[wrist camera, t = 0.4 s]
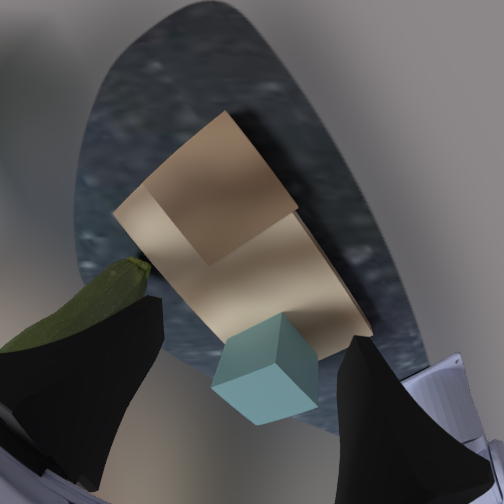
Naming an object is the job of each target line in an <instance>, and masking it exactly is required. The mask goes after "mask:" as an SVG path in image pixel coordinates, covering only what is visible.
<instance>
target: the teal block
mask: <svg viewBox="0 0 504 504" xmlns="http://www.w3.org/2000/svg"><path fill="white" fill-rule="evenodd" d="M211 388H212V389H213V390H214V391H215V392H216V393H217V394H219V395H220V396H221V397H222V398H223V399H225V400H226V401H227V402H228V403H229V404H230V405H232V406H233V407H234V408H235V409H236V410H238V411H239V412H240V413H241V414H243V415H244V416H245V417H246V418H248V419H249V420H250V421H251V422H253V423H254V424H255V425H261V424H265V423H269V422H272V421H276V420H279V419H283V418H286V417H289V416H293V415H296V414H299V413H302V412H305V411H308V410H311V409H314V408H317V407H318V355H317V354H316V353H315V352H314V350H313V349H312V348H311V347H310V346H309V344H308V343H307V342H306V341H305V339H304V338H303V337H302V336H301V335H300V333H299V332H298V331H297V330H296V329H295V327H294V326H293V325H292V324H291V322H290V321H289V320H288V319H287V318H286V316H285V315H284V314H283V313H282V312H281V313H279V314H277V315H275V316H273V317H271V318H269V319H267V320H265V321H263V322H261V323H259V324H257V325H255V326H253V327H251V328H249V329H247V330H245V331H243V332H241V333H239V334H237V335H234V336H232V337H230V338H228V339H227V341H226V344H225V347H224V350H223V353H222V356H221V359H220V361H219V364H218V367H217V370H216V373H215V376H214V379H213V382H212V385H211Z"/></svg>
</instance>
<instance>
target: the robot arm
mask: <svg viewBox="0 0 504 504" xmlns="http://www.w3.org/2000/svg"><path fill="white" fill-rule="evenodd" d="M164 339H165V338H164V325H163V309H162V299H161V298H157V297H153V296H149V295H147V296H145V297H143V298H141V299H139V300H138V301H136V302H134V303H132V304H131V305H129V306H127V307H126V308H124V309H122V310H120V311H119V312H117V313H115V314H113V315H112V316H110V317H108V318H106V319H104V320H102V321H100V322H98V323H96V324H94V325H92V326H91V327H89V328H87V329H85V330H82V331H80V332H78V333H76V334H73V335H71V336H68V337H66V338H63V339H60V340H58V341H54V342H51V343H48V344H44V345H41V346H38V347H34V348H30V349H25V350H20V351H14V352H7V353H0V504H111V503H108V502H106V501H104V500H102V499H100V498H98V497H96V496H94V495H92V494H90V493H88V492H95V491H98V490H99V486H100V482H101V478H102V474H103V471H104V467H105V464H106V461H107V457H108V455H109V452H110V449H111V446H112V443H113V441H114V438H115V435H116V433H117V430H118V428H119V425H120V423H121V421H122V418H123V416H124V413H125V411H126V409H127V407H128V405H129V404H130V402H131V400H132V398H133V397H134V395H135V393H136V392H137V390H138V388H139V387H140V385H141V383H142V381H143V380H144V378H145V377H146V375H147V373H148V372H149V370H150V368H151V367H152V365H153V363H154V362H155V360H156V358H157V355H158V353H159V351H160V349H161V346H162V344H163V341H164ZM337 407H338V420H339V434H340V464H339V477H338V484H337V492H336V499H335V504H504V442H503V441H500V440H496V439H494V440H492V441H491V442H489V441H488V440H487V438H486V435H485V432H484V429H483V426H482V424H481V421H480V418H479V415H478V412H477V410H476V407H475V405H474V402H473V400H472V397H471V395H470V390H469V385H468V381H467V377H466V373H465V368H464V364H463V361H462V357H461V354H460V352H456V353H454V354H452V355H450V356H448V357H447V358H445V359H443V360H442V361H440V362H438V363H436V364H434V365H432V366H431V367H429V368H427V369H425V370H423V371H421V372H419V373H417V374H415V375H413V376H411V377H409V378H407V379H405V380H403V381H401V382H400V381H399V379H398V378H397V377H396V375H395V374H394V372H393V371H392V370H391V368H390V367H389V365H388V364H387V362H386V361H385V359H384V358H383V356H382V355H381V353H380V352H379V350H378V349H377V347H376V346H375V345H374V343H373V342H372V340H371V339H370V338H369V337H367V336H359V335H354V336H353V338H352V340H351V343H350V345H349V348H348V350H347V352H346V355H345V357H344V359H343V362H342V364H341V366H340V368H339V371H338V374H337ZM68 481H69V482H68ZM70 482H71V483H70ZM72 483H73V484H74V485H73V484H72ZM75 485H77V486H79V487H81V488H82V489H84V490H86V491H88V492H86V491H84V490H82V489H81V488H79V487H77V486H75Z"/></svg>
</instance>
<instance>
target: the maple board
mask: <svg viewBox="0 0 504 504" xmlns="http://www.w3.org/2000/svg"><path fill="white" fill-rule="evenodd" d="M298 208H299V207H298V206H297V204H296V203H295V201H294V200H293V198H292V197H291V196H290V194H289V193H288V191H287V190H286V189H285V187H284V186H283V185H282V183H281V182H280V180H279V179H278V178H277V176H276V175H275V174H274V172H273V171H272V170H271V168H270V167H269V166H268V164H267V163H266V162H265V160H264V159H263V158H262V156H261V155H260V154H259V152H258V151H257V150H256V148H255V147H254V146H253V144H252V143H251V142H250V141H249V139H248V138H247V137H246V135H245V134H244V133H243V132H242V130H241V129H240V128H239V126H238V125H237V124H236V123H235V121H234V120H233V119H232V118H231V116H230V115H229V114H228V113H227V111H226V110H225V111H224V112H223V113H221V114H220V115H219V116H218V117H216V118H215V119H214V120H213V121H211V122H210V123H209V124H208V125H206V126H205V127H204V128H203V129H202V130H200V131H199V132H198V133H197V134H196V135H194V136H193V137H192V138H191V139H190V140H189V141H187V142H186V143H185V144H184V145H183V146H182V147H181V148H179V149H178V150H177V151H176V152H175V153H174V154H173V155H172V156H170V157H169V158H168V159H167V160H166V161H165V162H164V163H163V164H162V165H161V166H160V167H158V168H157V169H156V170H155V171H154V172H153V173H152V174H151V175H150V176H149V177H148V178H147V179H146V180H145V181H144V182H143V183H142V184H141V185H140V186H139V187H138V188H137V189H136V190H135V191H134V192H133V193H132V194H131V195H130V196H129V197H128V198H127V199H126V200H125V201H124V202H123V203H122V204H121V205H120V206H119V207H118V208H117V209H116V210H115V212H114V213H113V215H114V216H115V217H116V219H117V220H118V221H119V223H120V224H121V225H122V226H123V228H124V229H125V230H126V232H127V233H128V234H129V235H130V237H131V238H132V239H133V240H134V242H135V243H136V244H137V245H138V247H139V248H140V249H141V250H142V251H143V253H144V254H145V255H146V256H147V258H148V259H149V260H150V261H151V262H152V264H153V265H154V266H155V267H156V268H157V270H158V271H159V272H160V273H161V274H162V275H163V277H164V278H165V279H166V280H167V281H168V282H169V284H170V285H171V286H172V287H173V288H174V289H175V290H176V292H177V293H178V294H179V295H180V296H181V297H182V298H183V299H184V301H185V302H186V303H187V304H188V305H189V306H190V307H191V308H192V309H193V311H194V312H195V313H196V314H197V315H198V316H199V317H200V318H201V319H202V320H203V321H204V323H205V324H206V325H207V326H208V327H209V328H210V329H211V330H212V331H213V332H214V333H215V334H216V335H217V336H218V337H219V338H220V339H221V340H222V341H223V343H224V344H226V341H227V339H228V338H230V337H232V336H234V335H237V334H239V333H241V332H243V331H245V330H247V329H249V328H251V327H253V326H255V325H257V324H259V323H261V322H263V321H265V320H267V319H269V318H271V317H273V316H275V315H277V314H279V313H281V312H282V313H283V314H284V315H285V316H286V318H287V319H288V320H289V321H290V322H291V324H292V325H293V326H294V327H295V329H296V330H297V331H298V332H299V333H300V335H301V336H302V337H303V338H304V339H305V341H306V342H307V343H308V344H309V346H310V347H311V348H312V349H313V350H314V352H315V353H316V354H317V355H318V361H319V360H321V359H324V358H326V357H328V356H330V355H333V354H335V353H337V352H339V351H341V350H343V349H346V348H348V347H349V345H350V343H351V340H352V338H353V336H354V335H359V336H367V337H370V336H372V335H373V332H372V328H371V325H370V323H369V321H368V320H367V318H366V316H365V315H364V313H363V312H362V310H361V308H360V307H359V305H358V304H357V302H356V300H355V299H354V297H353V296H352V294H351V293H350V291H349V289H348V288H347V286H346V285H345V283H344V282H343V280H342V279H341V277H340V276H339V274H338V272H337V271H336V269H335V268H334V266H333V265H332V263H331V262H330V260H329V259H328V257H327V256H326V254H325V253H324V251H323V250H322V248H321V247H320V246H319V244H318V243H317V241H316V240H315V238H314V237H313V235H312V234H311V232H310V231H309V229H308V228H307V227H306V225H305V224H304V222H303V221H302V219H301V218H300V217H299V215H298V214H297V212H296V211H295V210H296V209H298Z"/></svg>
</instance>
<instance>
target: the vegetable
mask: <svg viewBox="0 0 504 504" xmlns="http://www.w3.org/2000/svg"><path fill="white" fill-rule="evenodd" d="M150 269H151V264H150V263H147V262H144V261H142V260H139V259H136V258H135V257H133V256H131V257H129V258H128V259H122V260H118V261H116V262H114V263H113V264H111V265H110V266H109V267H108V268H106V269H105V270H104V271H103V272H101V273H100V274H99V275H98V276H96V277H95V278H94V279H93V280H92V281H90V282H89V283H88V284H87V285H86V286H84V287H83V288H82V289H81V290H80V291H79V292H78V293H77V294H76V295H75V296H74V297H73V298H72V299H71V300H70V301H68V302H67V303H66V304H65V305H64V306H63V307H61V308H60V309H59V310H58V311H57V312H55V313H54V314H52V315H50V316H48V317H46V318H44V319H42V320H41V321H39V322H37V323H35V324H33V325H31V326H30V327H28V328H26V329H25V330H24V331H22V332H21V333H20V334H19V335H17V336H16V337H14V338H13V339H12V340H10V341H9V342H8V343H7V344H5V345H4V346H3V347H2V348H1V349H0V353H7V352H14V351H20V350H25V349H30V348H34V347H38V346H41V345H44V344H48V343H51V342H54V341H58V340H60V339H63V338H66V337H68V336H71V335H73V334H76V333H78V332H80V331H82V330H85V329H87V328H89V327H91V326H92V325H94V324H96V323H98V322H100V321H102V320H104V319H106V318H108V317H110V316H112V315H113V314H115V313H117V312H119V311H120V310H122V309H124V308H126V307H127V306H129V305H131V304H132V303H134V302H136V301H138V300H139V299H141V298H143V296H144V294H145V291H146V287H147V279H148V276H149V273H150Z"/></svg>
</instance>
